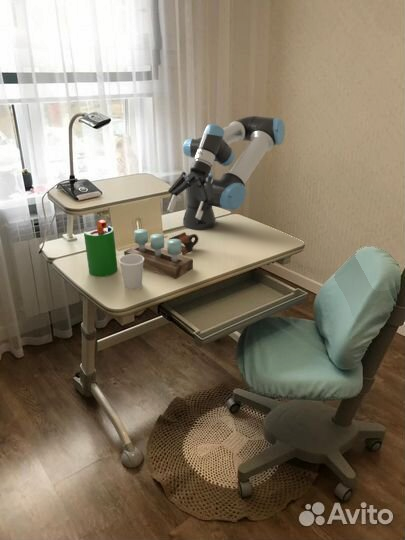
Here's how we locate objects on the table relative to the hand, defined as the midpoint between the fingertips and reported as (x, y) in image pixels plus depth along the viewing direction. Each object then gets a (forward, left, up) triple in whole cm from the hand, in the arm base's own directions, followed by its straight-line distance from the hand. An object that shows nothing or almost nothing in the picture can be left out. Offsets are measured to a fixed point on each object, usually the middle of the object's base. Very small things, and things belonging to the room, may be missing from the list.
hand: (183, 215), depth 166 cm
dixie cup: (+32, +3, -16) cm, 36 cm away
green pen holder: (+31, -13, -16) cm, 37 cm away
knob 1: (+15, -8, -12) cm, 21 cm away
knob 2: (+15, 0, -12) cm, 19 cm away
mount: (+15, 0, -15) cm, 22 cm away
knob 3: (+15, +8, -12) cm, 21 cm away
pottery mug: (-2, -1, -16) cm, 16 cm away
